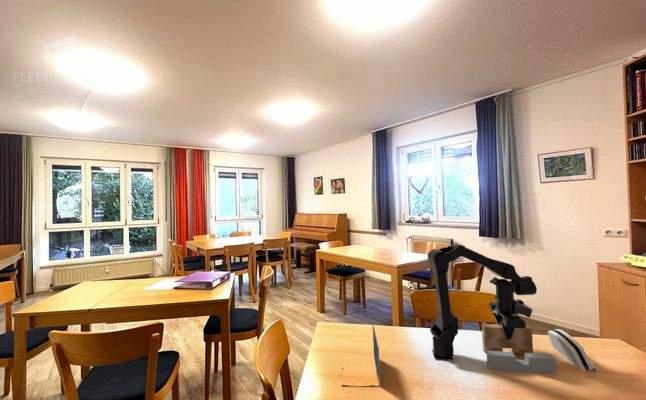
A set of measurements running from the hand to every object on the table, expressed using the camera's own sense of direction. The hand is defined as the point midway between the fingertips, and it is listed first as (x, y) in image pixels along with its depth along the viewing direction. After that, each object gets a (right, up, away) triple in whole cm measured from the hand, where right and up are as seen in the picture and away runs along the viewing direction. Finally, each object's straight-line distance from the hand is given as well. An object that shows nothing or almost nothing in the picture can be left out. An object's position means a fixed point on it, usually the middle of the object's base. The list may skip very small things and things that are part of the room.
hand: (506, 337), depth 111 cm
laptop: (-56, -9, -8) cm, 58 cm away
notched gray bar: (-2, -6, -11) cm, 13 cm away
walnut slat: (0, -6, 0) cm, 6 cm away
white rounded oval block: (+20, -6, -5) cm, 21 cm away
